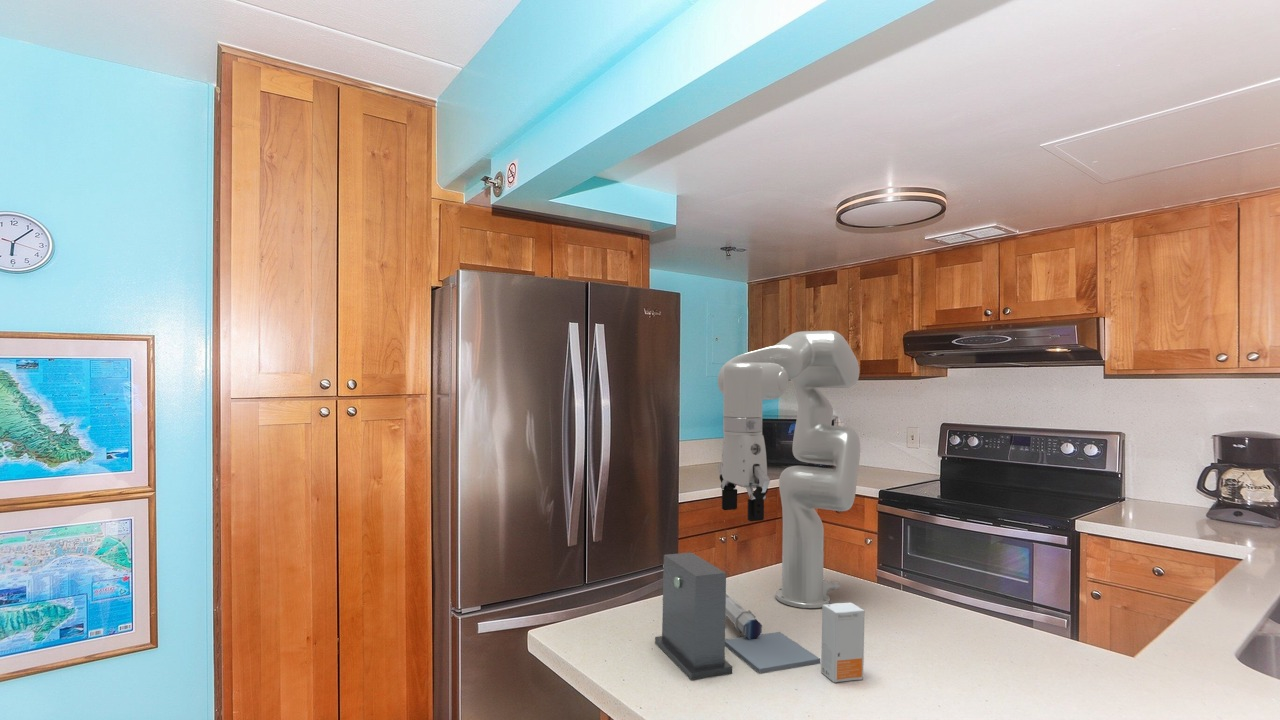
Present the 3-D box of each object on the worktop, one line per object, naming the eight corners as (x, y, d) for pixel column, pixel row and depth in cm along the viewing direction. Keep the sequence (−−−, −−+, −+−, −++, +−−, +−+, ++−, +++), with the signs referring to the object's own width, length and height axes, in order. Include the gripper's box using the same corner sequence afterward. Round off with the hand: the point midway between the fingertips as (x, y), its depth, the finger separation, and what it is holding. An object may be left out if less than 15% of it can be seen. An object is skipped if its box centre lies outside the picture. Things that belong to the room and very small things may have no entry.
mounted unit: (692, 637, 122) (693, 550, 123) (732, 673, 107) (734, 574, 108) (655, 643, 119) (657, 553, 120) (691, 680, 105) (693, 578, 105)
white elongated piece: (742, 620, 119) (692, 570, 143) (740, 653, 120) (690, 597, 143) (766, 617, 121) (712, 568, 145) (763, 650, 121) (711, 595, 145)
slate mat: (779, 635, 124) (779, 631, 124) (820, 663, 112) (820, 658, 112) (723, 644, 120) (723, 639, 120) (759, 673, 108) (759, 668, 108)
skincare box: (834, 684, 105) (834, 612, 105) (820, 672, 109) (821, 604, 109) (865, 680, 106) (865, 609, 107) (850, 669, 110) (850, 601, 111)
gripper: (784, 429, 112) (784, 523, 112) (736, 422, 128) (736, 504, 128) (749, 430, 110) (748, 526, 109) (704, 423, 126) (704, 507, 125)
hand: (742, 514), depth 119 cm, fingers open, 9 cm apart
